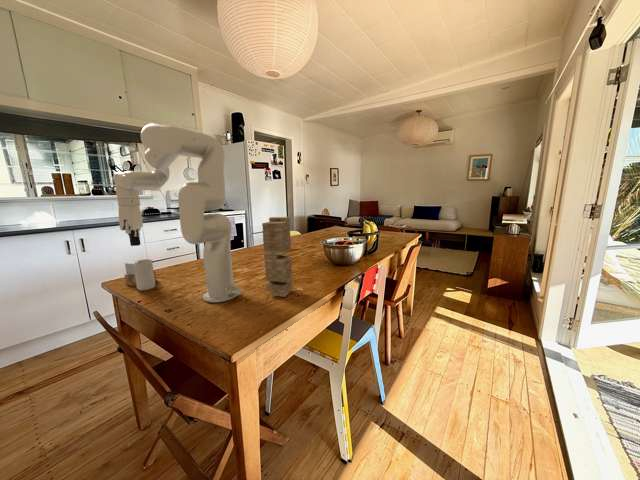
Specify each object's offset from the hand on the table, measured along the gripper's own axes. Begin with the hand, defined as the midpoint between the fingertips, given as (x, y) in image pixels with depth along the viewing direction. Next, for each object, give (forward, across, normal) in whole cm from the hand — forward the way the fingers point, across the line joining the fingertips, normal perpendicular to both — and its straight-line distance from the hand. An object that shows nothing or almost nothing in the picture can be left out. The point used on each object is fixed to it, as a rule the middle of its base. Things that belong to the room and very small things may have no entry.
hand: (135, 245), depth 110 cm
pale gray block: (+12, 0, 0) cm, 12 cm away
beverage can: (+17, +9, +6) cm, 20 cm away
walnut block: (+17, 0, 0) cm, 17 cm away
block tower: (+17, +29, +60) cm, 69 cm away
